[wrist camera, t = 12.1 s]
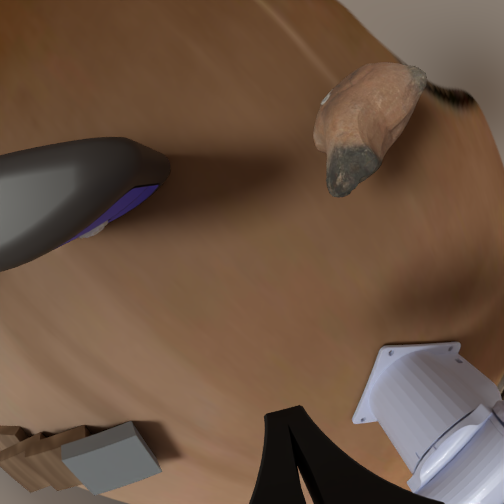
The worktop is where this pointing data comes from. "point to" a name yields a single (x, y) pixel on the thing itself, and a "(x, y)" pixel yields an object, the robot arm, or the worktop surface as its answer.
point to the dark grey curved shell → (71, 192)
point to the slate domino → (110, 459)
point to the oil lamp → (365, 121)
